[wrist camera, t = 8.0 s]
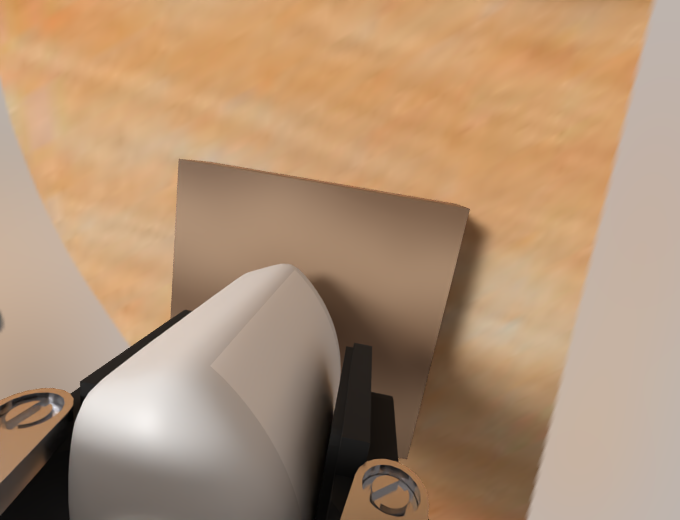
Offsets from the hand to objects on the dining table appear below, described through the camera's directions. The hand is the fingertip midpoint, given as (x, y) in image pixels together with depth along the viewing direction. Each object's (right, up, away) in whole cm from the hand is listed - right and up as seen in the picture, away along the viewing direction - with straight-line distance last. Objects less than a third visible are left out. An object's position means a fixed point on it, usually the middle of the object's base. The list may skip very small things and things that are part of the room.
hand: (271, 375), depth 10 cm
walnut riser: (+1, +1, +6) cm, 7 cm away
